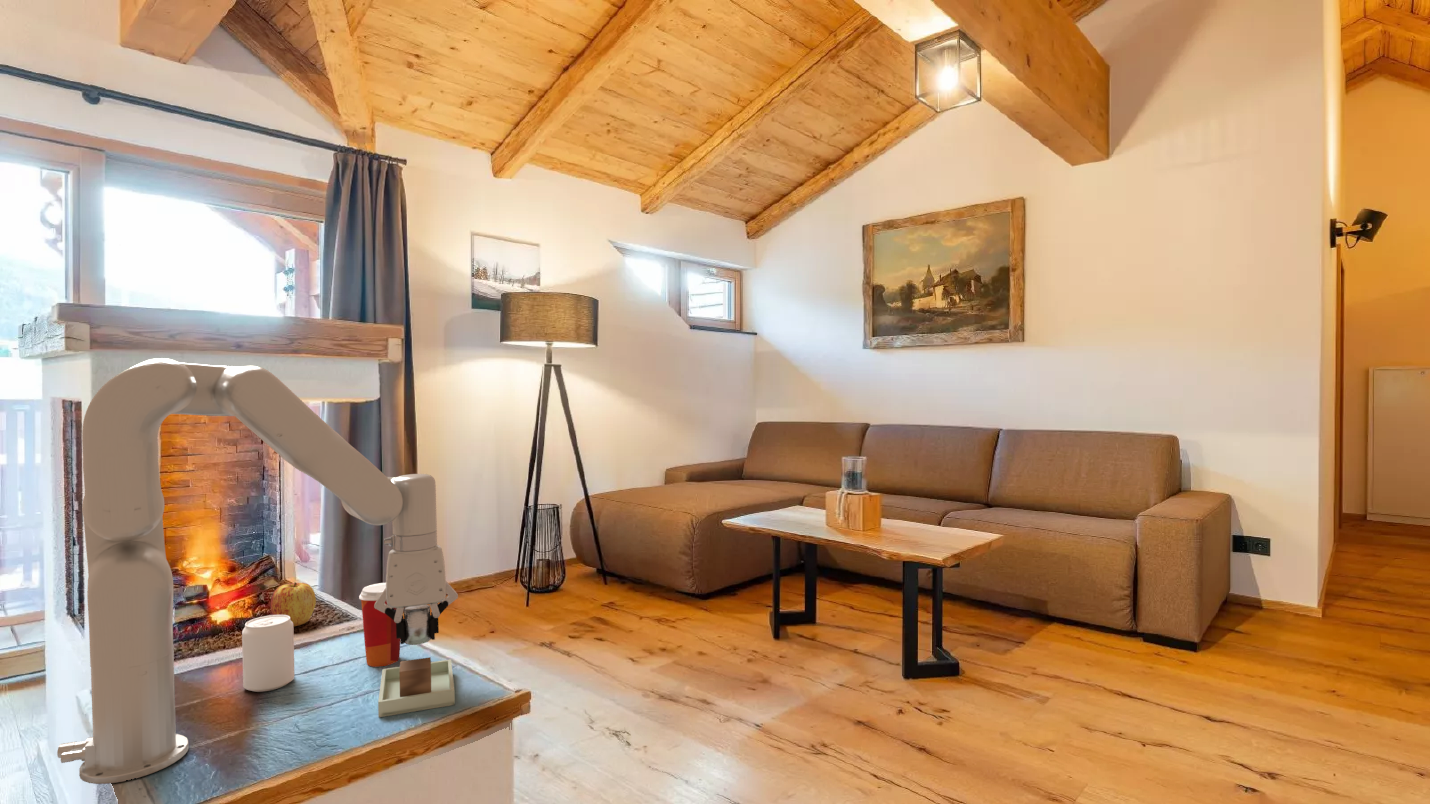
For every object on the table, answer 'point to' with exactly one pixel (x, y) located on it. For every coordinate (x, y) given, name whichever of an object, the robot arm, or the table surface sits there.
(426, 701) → the parts tray
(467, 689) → the table surface
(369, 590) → the coffee cup
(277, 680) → the beverage can
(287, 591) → the apple
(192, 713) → the table surface
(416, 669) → the walnut block
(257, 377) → the robot arm
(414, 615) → the metal cylinder
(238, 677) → the table surface
